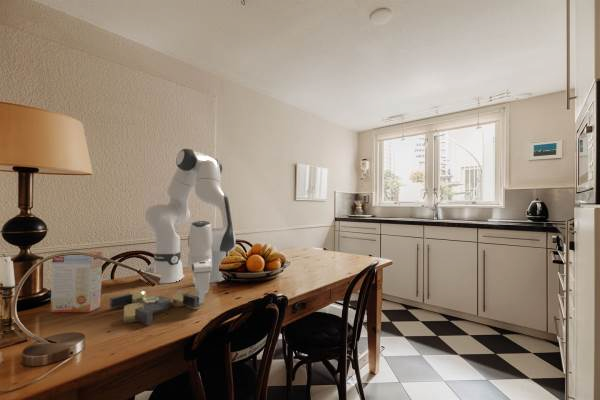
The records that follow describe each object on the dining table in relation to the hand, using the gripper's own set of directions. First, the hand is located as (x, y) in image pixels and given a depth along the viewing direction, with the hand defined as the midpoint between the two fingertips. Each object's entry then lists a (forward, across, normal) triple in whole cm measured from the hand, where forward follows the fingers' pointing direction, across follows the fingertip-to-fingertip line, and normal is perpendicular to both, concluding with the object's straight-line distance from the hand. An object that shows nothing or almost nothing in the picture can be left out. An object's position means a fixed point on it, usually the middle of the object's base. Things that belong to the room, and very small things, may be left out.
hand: (199, 298), depth 107 cm
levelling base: (+2, -2, -17) cm, 17 cm away
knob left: (+2, 0, -5) cm, 5 cm away
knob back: (+2, -9, -24) cm, 26 cm away
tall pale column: (+2, -32, +13) cm, 34 cm away
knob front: (+2, +9, -20) cm, 22 cm away
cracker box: (+2, -13, -41) cm, 43 cm away
